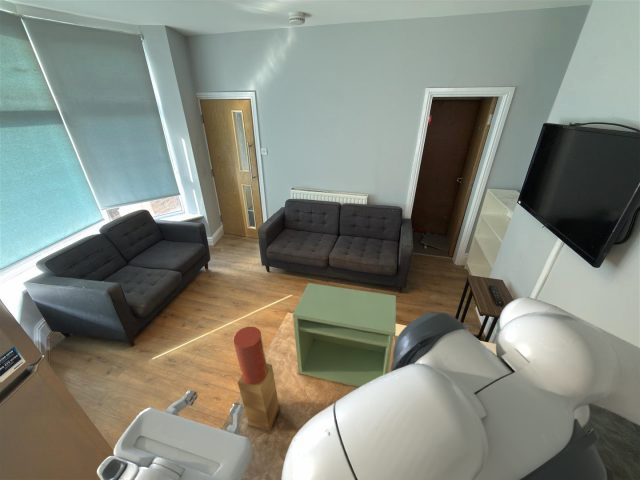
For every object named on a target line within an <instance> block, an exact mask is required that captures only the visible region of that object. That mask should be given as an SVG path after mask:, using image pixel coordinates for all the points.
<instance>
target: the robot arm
mask: <svg viewBox="0 0 640 480" xmlns="http://www.w3.org/2000/svg"><path fill="white" fill-rule="evenodd" d="M397 336H398V337H397V340H396V343H395V346H394V351H393V357H394V362H393V363H392V365H391V372H389V373H387V374H385V375H382V376H380V377H378V378H376V379H374V380H372V381H370V382H368V383H366V384H364V385H362V386H361V387H356V388H355V389H353V390H352V391H350V392H348V393H347V394H345V395H344V396H342V397H341V398H339V399H337V400H336V401H334V402H333V403H331V404H330V405H329V406H326V408H324V409H322V410H321V411H319V412H318V413H316V414H315V415H314V416H313V417H311V418H310V419H309V420H308V421H307V422H306V423H305V424H304V425H303V426H302V427H301V428H300V429H299V430H298V431H297V433H296V434H295V435H294V436H293V437H292V440H291V442H290V444H289V446H288V449H287V452H286V454H285V457H284V462H283V466H282V471H281V478H280V479H281V480H614V476H613V470H611V469H609V468H608V467H606V466H605V464H604V463H603V460H602V458H601V456H600V454H599V451H598V450H597V448H596V446H595V443H596V442H598V440H599V439H600V438H601V437H600V435H599V434H598V432H597V429H596V428H589V429H586V430H584V429H583V428H584V427H586V425H587V423H588V422H589V420H590V417H591V410H590V405H594V406H597V407H599V408H602V409H604V410H605V411H608V412H611V413H613V414H615V415H617V416H619V417H622V418H624V419H626V420H627V421H629V422H631V423H633V424H635V425H637V426H639V427H640V347H639V346H638V345H634V344H633V343H631V342H629V341H627V340H625V339H623V338H621V337H619V336H617V335H615V334H613V333H611V332H609V331H607V330H604V329H603V328H601V327H599V326H597V325H595V324H593V323H590V322H589V321H587V320H585V319H583V318H580V317H579V316H576V315H574V314H572V313H571V312H568V311H567V310H565V309H563V308H561V307H559V306H557V305H554V304H551V303H548V302H546V301H543V300H539V299H536V298H533V297H531V296H523V297H518V298H516V299H514V300H511V301H510V302H509V303H507V304H506V305H505V307H504V308H503V309H502V311H501V312H500V316H499V332H498V334H497V337H496V341H495V352H494V351H492V350H491V349H490V348H489V347H488V346H487V345H486V344H484V343H483V341H481V340H479V338H477V337H476V336H475V335H474V334H473V333H471V332H470V329H469V327H468V326H467V325H465V324H464V323H463V322H461V320H458V319H457V318H456V317H454V316H453V315H451V314H449V313H447V312H435V311H434V312H433V311H432V312H428V313H426V314H423V315H421V316H419V317H417V318H415V319H414V320H412V321H411V322H409V323H408V324H407V325H406V326H405V327H404V328H403V329H402V330H401V331H400V333H399V334H398V335H397ZM197 399H198V394H197V391H194V390H191V389H188V390H187V391H186V392H185V393H184V395H183V396H182V397H181V398H179V399H178V400H176V401H174V402H173V403H171V404H170V405H169V406H168V407H167V408H166V410H165V411H164V410H160V409H157V408H154V407H147V408H146V409H144V410H142V411H140V412H139V414H138V415H136V417H135V418H134V419H133V421H131V423H130V424H129V426H128V427H127V428H126V429H125V431H124V432H123V433H122V434H121V436H120V438H119V439H118V441H117V442H116V444H115V446H114V448H113V452H112V454H113V455H109V456H108V457H106V458H105V459H104V460H103V461H102V462H101V463H100V465H99V466H98V467H97V469H96V474H97V476H98V478H99V479H100V480H243V478H244V476H245V474H246V472H247V470H248V468H249V466H250V464H251V462H252V459H253V456H254V451H253V450H254V449H253V446H252V442H251V440H250V438H249V437H247V436H243V435H240V418H241V416H242V415H243V412H244V410H245V408H244V404H240V403H238V402H237V403H236V402H234V403H233V404H232V407H231V408H230V410H229V411H228V412H229V415H230V418H231V419H232V424H229V425H228V426H227V428H226V430H224V429H221V428H217V427H215V426H212V425H208V424H206V423H202V422H199V421H195V420H192V419H189V418H185V417H184V416H183V417H182V416H180V414H179V413H180V412H181V411H183V410H184V409H185V408H186V407H187V406H190V407H192V406H193V405H194V403H195V401H196V400H197Z"/></svg>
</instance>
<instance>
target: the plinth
mask: <svg viewBox="0 0 640 480" xmlns="http://www.w3.org/2000/svg"><path fill="white" fill-rule="evenodd" d="M266 364H267V370H268V371H267V375H266V377H265V378H264V379H263V380H262V381H261V382H259V383H257V384H248V383H246V382H245V381H244V380H243V377H242V373H240V376H239V378H238V379H237V386H238V390H239V393H240V397H241V400H242V405H243V408H244V411H245V416H246V420H247V423H248V426H252V427H255V428H258V429H262V430H266V431H269V432H271V431H272V428H273V425H274V422H275V419H276V417H277V415H278V412H279V409H280V404H279V397H278V392H277V386H276V380H275V375H274V369H273V364H272V363H267V362H266Z"/></svg>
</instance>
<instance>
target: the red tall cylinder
mask: <svg viewBox="0 0 640 480" xmlns="http://www.w3.org/2000/svg"><path fill="white" fill-rule="evenodd" d="M232 339H233V345H234V350H235V353H236V357H237V361H238V365H239V368H240V374H242V377H243V380H244V381H245V382H246V383H248V384H257V383H259V382H261V381H262V380H263V379H264V378H265V377H266V375H267V371H268V370H267V364H268V363H267V359H266V353H265V349H264V347H265V346H264V342H263V337H262V332H261V330H260V329H259V328H258V327H256V326H246V327H243V328H240V329H239V330H238V331H236V333H235V334H234V336H233V338H232ZM266 363H267V364H266Z"/></svg>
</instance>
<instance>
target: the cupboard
mask: <svg viewBox="0 0 640 480" xmlns="http://www.w3.org/2000/svg"><path fill="white" fill-rule="evenodd" d="M396 315H397V295H394V294H387V293H382V292H381V293H380V292H374V291H368V290H367V291H366V290H359V289H355V288H354V289H353V288H346V287H339V286H333V285H332V286H331V285H326V284H319V283H312V282H308V283H307V285H306V287H305V289H304V290H303V292H302V295H301V297H300V299H299V301H298V303H297V305H296V307H295V309H294V311H293V313H292V320H293V330H294V340H295V350H296V361H297V371H298V372H297V373H298V374H300V375H304V376H307V377H312V378H316V379H321V380H325V381H329V382H334V383H337V384H343V385H348V386H350V387H356V388H359V387H361V386H362V385H364V384H366V383H368V382H370V381H372V380H374V379H376V378H378V377H380V376H382V375H385V374H387V373H388V368H389V361H390V355H391V348H392V341H393V335H395V336H396V330H397V329H396V328H397V327H396V326H397V321H396V320H397V316H396Z"/></svg>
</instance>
